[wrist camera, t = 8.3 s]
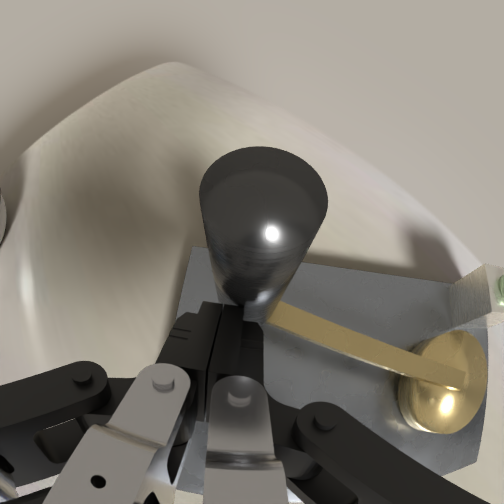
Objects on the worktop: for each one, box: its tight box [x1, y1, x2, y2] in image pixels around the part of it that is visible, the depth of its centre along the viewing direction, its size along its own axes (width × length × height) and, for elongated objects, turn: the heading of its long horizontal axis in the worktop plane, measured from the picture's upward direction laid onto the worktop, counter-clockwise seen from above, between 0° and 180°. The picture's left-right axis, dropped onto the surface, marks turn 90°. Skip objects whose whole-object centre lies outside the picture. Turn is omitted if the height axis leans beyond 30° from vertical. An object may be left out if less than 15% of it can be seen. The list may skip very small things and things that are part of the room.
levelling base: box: [175, 246, 504, 502], centre depth 13 cm, size 25×16×7 cm, turn 82°
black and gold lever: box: [199, 146, 488, 434], centre depth 10 cm, size 19×7×11 cm, turn 66°
